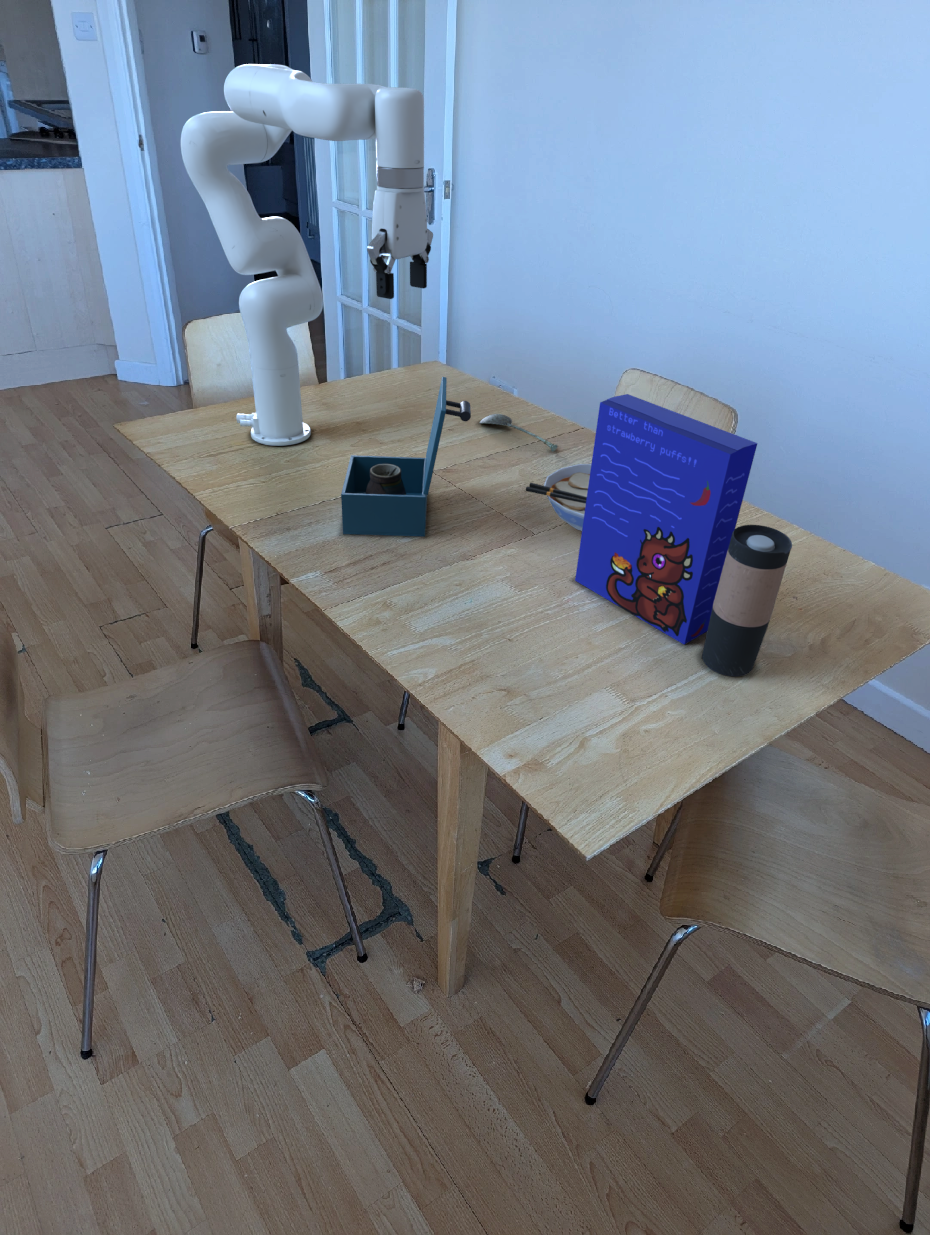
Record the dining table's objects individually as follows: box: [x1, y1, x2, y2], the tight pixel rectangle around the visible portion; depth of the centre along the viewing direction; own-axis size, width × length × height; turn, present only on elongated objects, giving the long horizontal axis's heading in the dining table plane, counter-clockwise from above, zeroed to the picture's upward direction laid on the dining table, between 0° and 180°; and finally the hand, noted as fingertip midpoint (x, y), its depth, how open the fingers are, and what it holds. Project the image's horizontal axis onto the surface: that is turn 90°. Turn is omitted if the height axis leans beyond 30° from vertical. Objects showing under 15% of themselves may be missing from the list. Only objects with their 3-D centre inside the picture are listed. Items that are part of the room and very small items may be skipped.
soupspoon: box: [479, 413, 559, 453], centre depth 181 cm, size 22×3×7 cm
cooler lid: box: [423, 376, 472, 496], centre depth 141 cm, size 15×16×5 cm
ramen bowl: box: [525, 463, 592, 532], centre depth 146 cm, size 25×23×8 cm
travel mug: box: [701, 524, 793, 678], centre depth 111 cm, size 8×8×20 cm
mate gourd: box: [366, 464, 406, 495], centre depth 146 cm, size 7×8×10 cm
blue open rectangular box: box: [340, 454, 428, 538], centre depth 147 cm, size 14×16×8 cm
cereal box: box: [574, 393, 758, 645], centre depth 119 cm, size 22×6×30 cm, turn 40°
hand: (402, 292), depth 140 cm, fingers open, 9 cm apart
